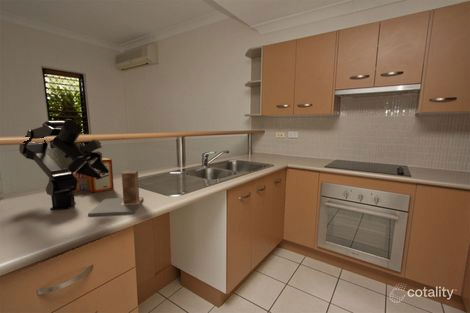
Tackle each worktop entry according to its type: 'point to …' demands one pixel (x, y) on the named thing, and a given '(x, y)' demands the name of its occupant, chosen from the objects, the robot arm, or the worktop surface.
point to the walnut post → (130, 187)
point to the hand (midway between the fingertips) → (104, 175)
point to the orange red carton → (81, 181)
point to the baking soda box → (102, 179)
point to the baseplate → (115, 207)
